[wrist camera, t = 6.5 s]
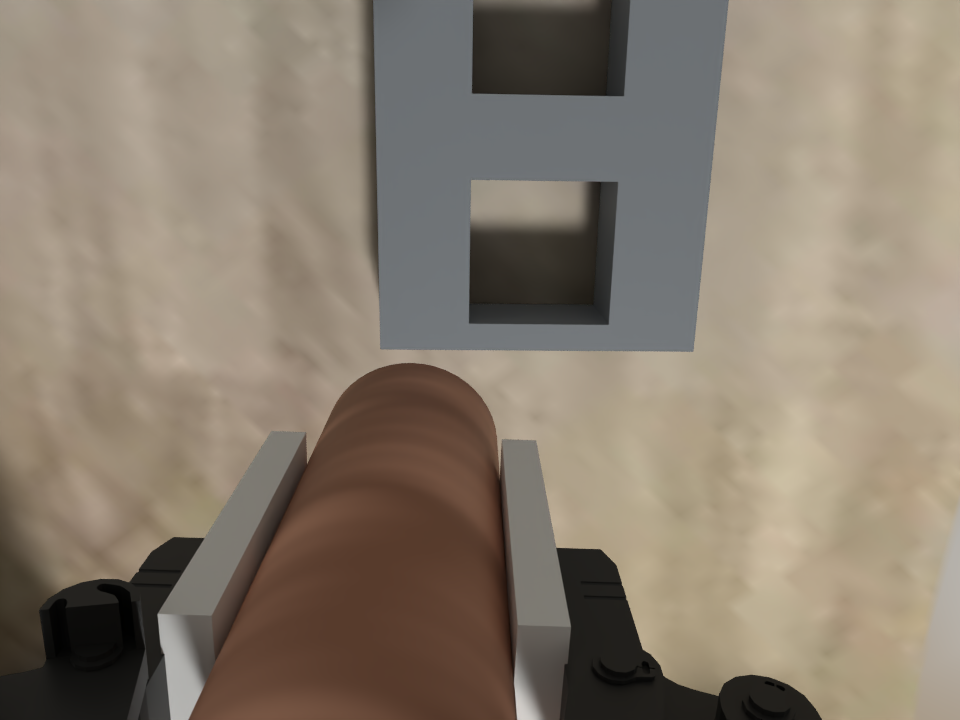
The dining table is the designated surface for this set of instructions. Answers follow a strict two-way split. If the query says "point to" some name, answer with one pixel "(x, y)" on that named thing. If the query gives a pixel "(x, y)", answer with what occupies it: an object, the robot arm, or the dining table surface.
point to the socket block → (546, 177)
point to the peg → (381, 570)
